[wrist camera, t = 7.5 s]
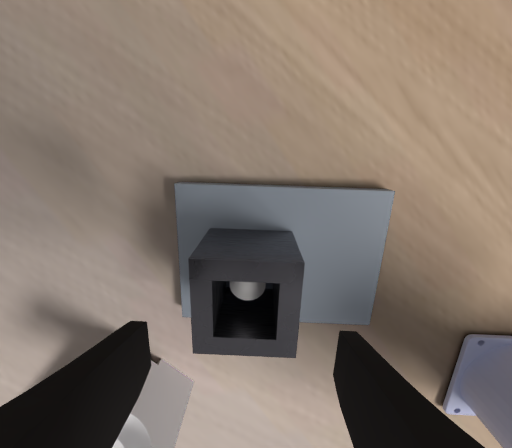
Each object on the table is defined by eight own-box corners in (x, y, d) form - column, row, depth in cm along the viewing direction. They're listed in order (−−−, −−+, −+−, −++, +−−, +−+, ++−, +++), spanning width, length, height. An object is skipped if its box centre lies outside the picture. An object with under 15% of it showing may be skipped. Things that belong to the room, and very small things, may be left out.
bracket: (128, 332, 20) (54, 431, 13) (195, 378, 22) (161, 491, 14) (54, 415, 23) (-41, 534, 16) (116, 451, 24) (54, 577, 17)
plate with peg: (386, 189, 16) (432, 201, 12) (364, 316, 19) (393, 364, 15) (179, 181, 16) (149, 191, 12) (186, 308, 19) (164, 353, 15)
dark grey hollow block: (292, 231, 16) (304, 263, 11) (286, 302, 18) (295, 357, 13) (210, 227, 16) (188, 258, 11) (211, 299, 18) (193, 353, 13)
